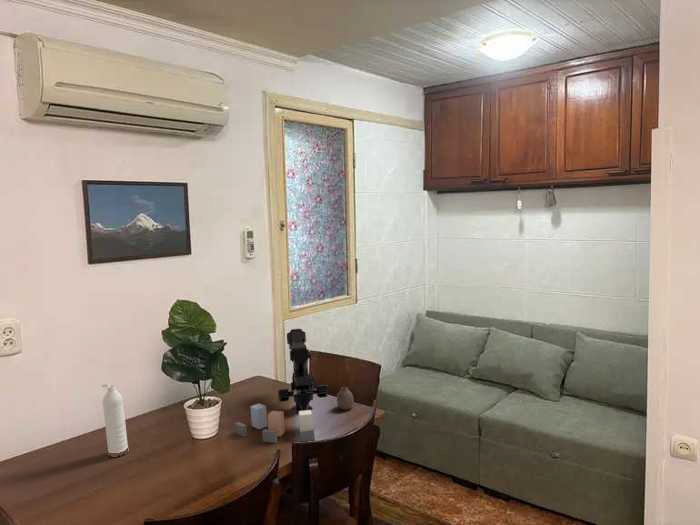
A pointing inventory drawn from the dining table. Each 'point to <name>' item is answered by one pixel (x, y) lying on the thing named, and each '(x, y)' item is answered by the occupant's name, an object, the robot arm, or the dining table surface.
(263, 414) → the gray rectangular block
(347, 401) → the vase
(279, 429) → the salmon rectangular block
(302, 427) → the cream rectangular block
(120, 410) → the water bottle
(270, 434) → the block
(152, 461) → the dining table surface
